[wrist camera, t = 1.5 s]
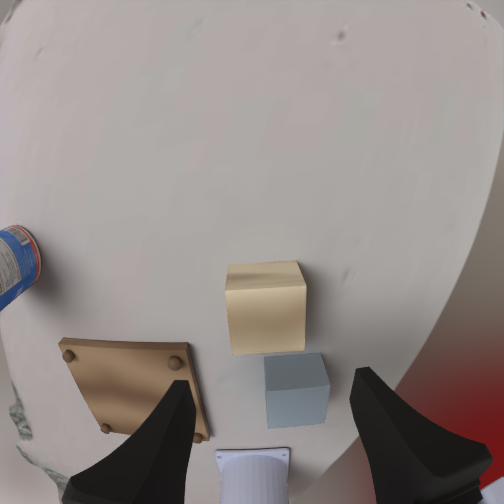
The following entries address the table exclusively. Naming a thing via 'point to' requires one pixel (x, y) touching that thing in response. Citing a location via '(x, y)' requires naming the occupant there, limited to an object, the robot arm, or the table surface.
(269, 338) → the birch block
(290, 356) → the slate block
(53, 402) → the table surface
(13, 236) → the pill bottle
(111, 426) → the base plate
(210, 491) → the table surface
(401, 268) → the table surface
